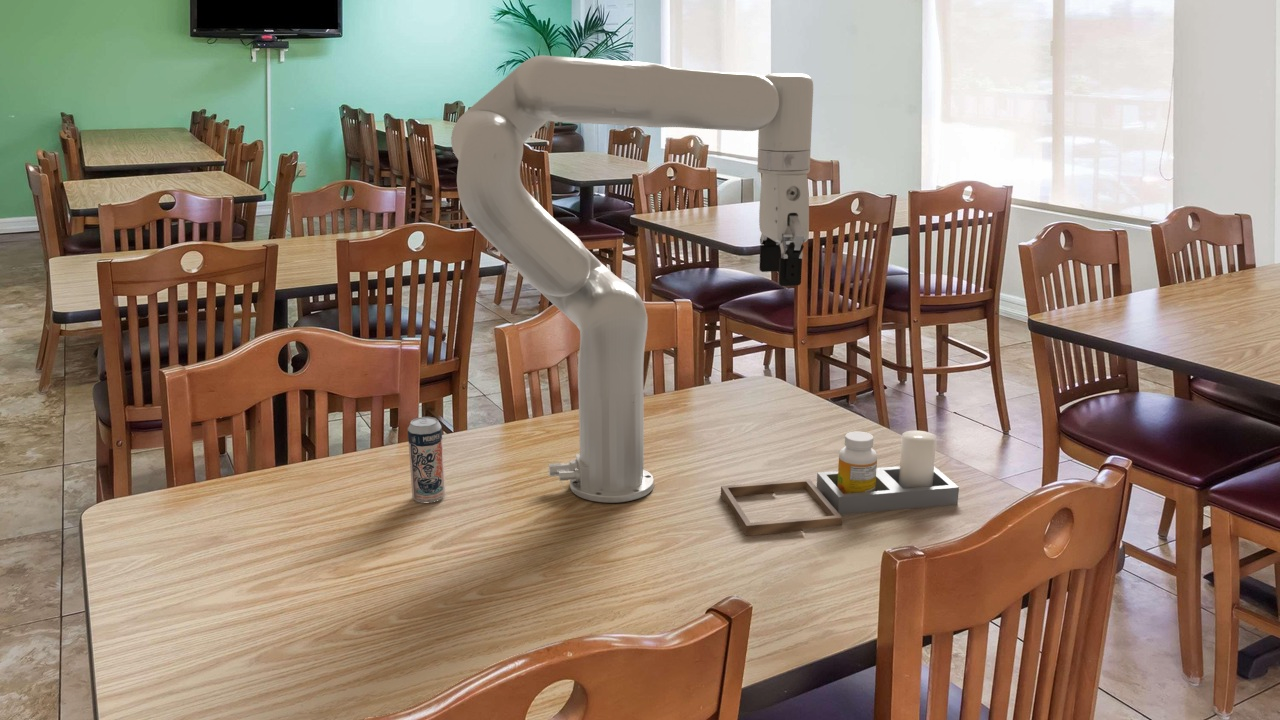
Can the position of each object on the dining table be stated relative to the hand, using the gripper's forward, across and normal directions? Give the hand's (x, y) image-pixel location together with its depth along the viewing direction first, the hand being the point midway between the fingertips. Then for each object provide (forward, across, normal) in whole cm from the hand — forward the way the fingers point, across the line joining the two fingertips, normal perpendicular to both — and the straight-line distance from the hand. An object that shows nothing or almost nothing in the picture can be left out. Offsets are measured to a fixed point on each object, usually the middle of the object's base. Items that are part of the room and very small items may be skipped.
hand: (779, 277), depth 161 cm
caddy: (+30, -15, -13) cm, 36 cm away
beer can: (+31, -2, +53) cm, 61 cm away
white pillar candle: (+30, -15, -17) cm, 37 cm away
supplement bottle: (+30, -15, -8) cm, 34 cm away
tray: (+30, -16, +4) cm, 34 cm away
